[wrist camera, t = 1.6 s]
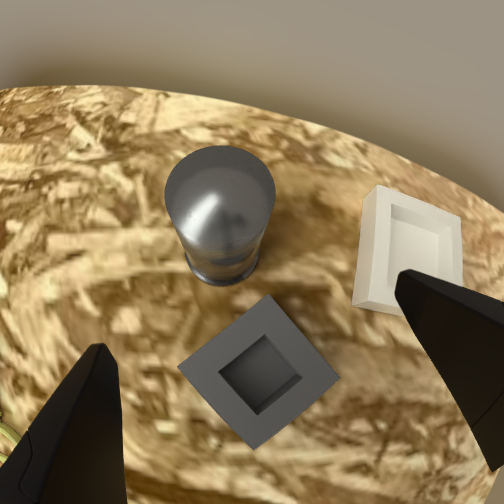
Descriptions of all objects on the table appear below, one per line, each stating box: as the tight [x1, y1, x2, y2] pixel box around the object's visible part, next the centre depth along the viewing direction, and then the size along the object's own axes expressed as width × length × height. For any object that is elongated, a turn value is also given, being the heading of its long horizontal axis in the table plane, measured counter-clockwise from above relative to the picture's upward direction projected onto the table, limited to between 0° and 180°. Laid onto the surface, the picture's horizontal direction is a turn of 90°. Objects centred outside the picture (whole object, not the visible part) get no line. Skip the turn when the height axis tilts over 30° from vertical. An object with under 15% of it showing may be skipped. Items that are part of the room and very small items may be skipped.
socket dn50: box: [351, 184, 463, 317], centre depth 21 cm, size 9×9×3 cm
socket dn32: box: [177, 294, 340, 450], centre depth 17 cm, size 7×7×3 cm
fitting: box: [165, 146, 275, 287], centre depth 17 cm, size 5×5×9 cm
